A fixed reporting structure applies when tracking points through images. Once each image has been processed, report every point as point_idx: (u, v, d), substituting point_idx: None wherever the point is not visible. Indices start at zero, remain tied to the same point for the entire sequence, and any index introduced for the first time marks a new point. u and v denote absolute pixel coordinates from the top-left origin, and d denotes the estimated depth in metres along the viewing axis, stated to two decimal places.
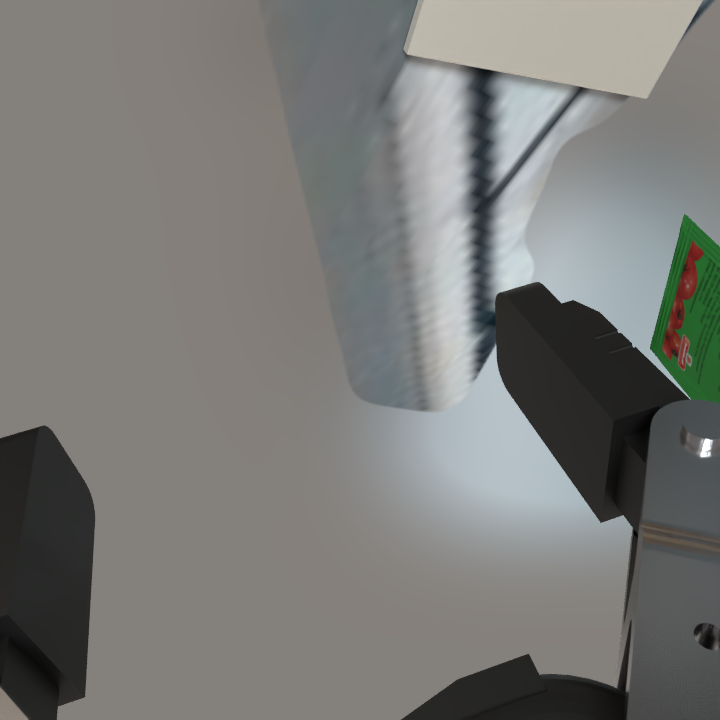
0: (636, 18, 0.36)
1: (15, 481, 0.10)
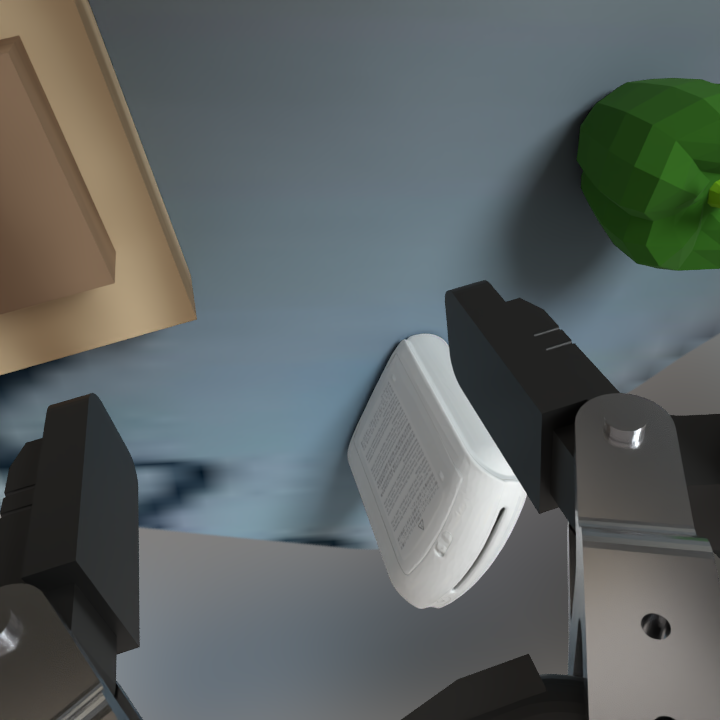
0: None
1: (71, 442, 0.10)
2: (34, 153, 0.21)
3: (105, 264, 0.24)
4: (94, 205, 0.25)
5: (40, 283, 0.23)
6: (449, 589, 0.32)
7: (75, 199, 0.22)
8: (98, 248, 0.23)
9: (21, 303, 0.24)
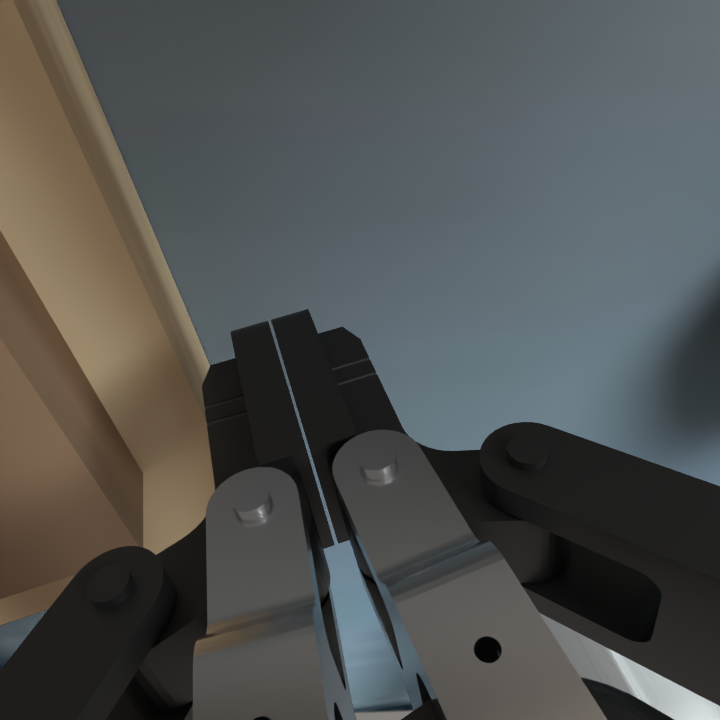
0: None
1: (265, 359, 0.11)
2: (3, 398, 0.12)
3: (128, 531, 0.15)
4: (109, 419, 0.16)
5: (23, 567, 0.14)
6: None
7: (77, 454, 0.13)
8: (117, 512, 0.14)
9: None
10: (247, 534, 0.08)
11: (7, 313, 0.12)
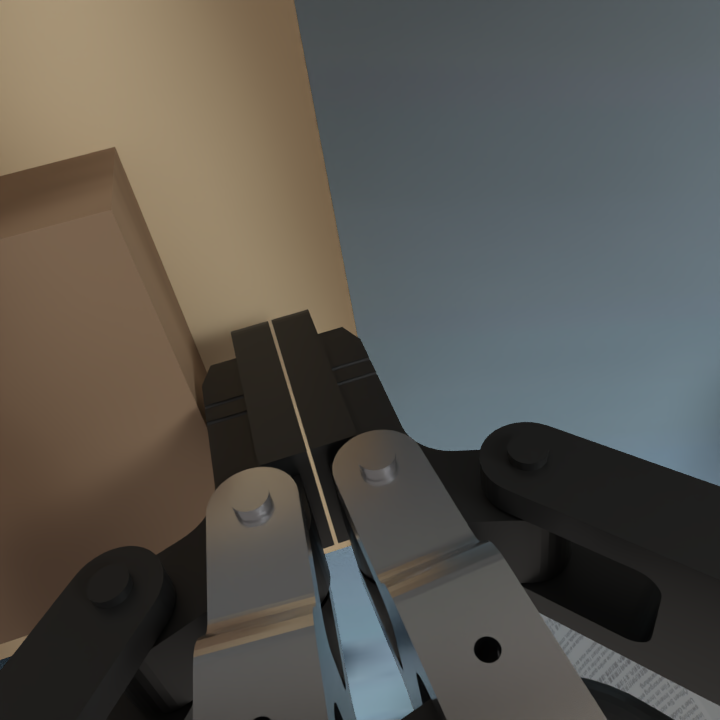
0: None
1: (265, 359, 0.11)
2: (148, 383, 0.11)
3: None
4: None
5: None
6: None
7: None
8: None
9: None
10: (247, 534, 0.08)
11: (155, 288, 0.10)
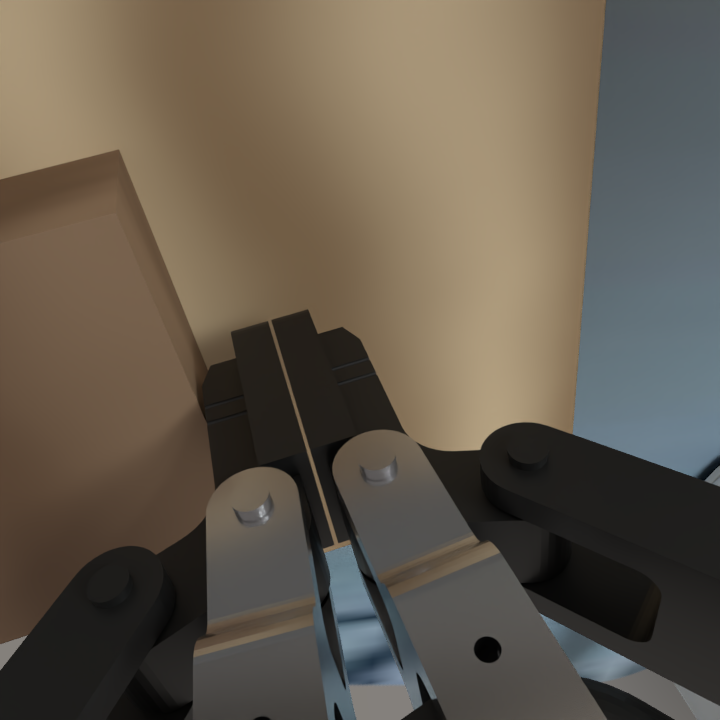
0: None
1: (265, 359, 0.11)
2: (151, 385, 0.11)
3: None
4: None
5: None
6: None
7: None
8: None
9: None
10: (247, 534, 0.08)
11: (158, 290, 0.10)
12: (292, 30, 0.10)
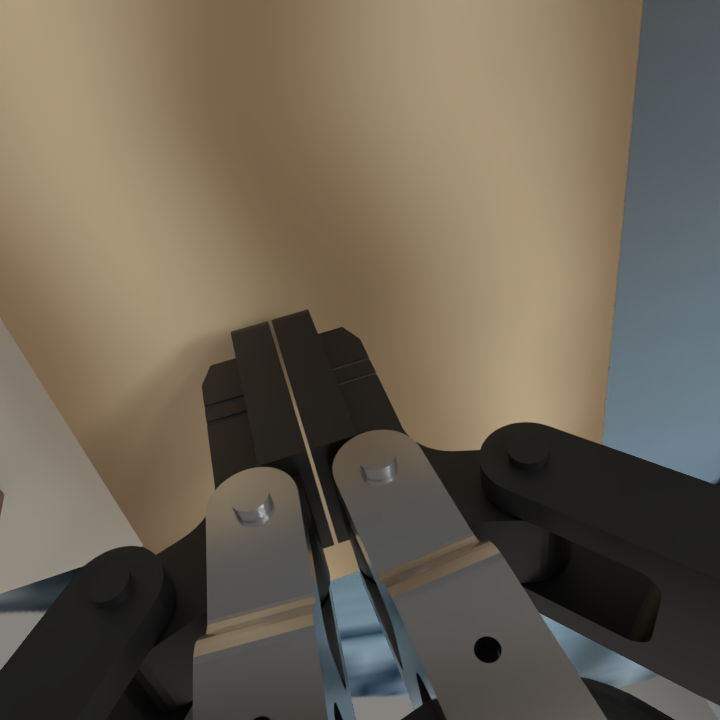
0: None
1: (265, 359, 0.11)
2: None
3: None
4: None
5: None
6: None
7: None
8: None
9: None
10: (247, 534, 0.08)
11: None
12: (334, 66, 0.10)
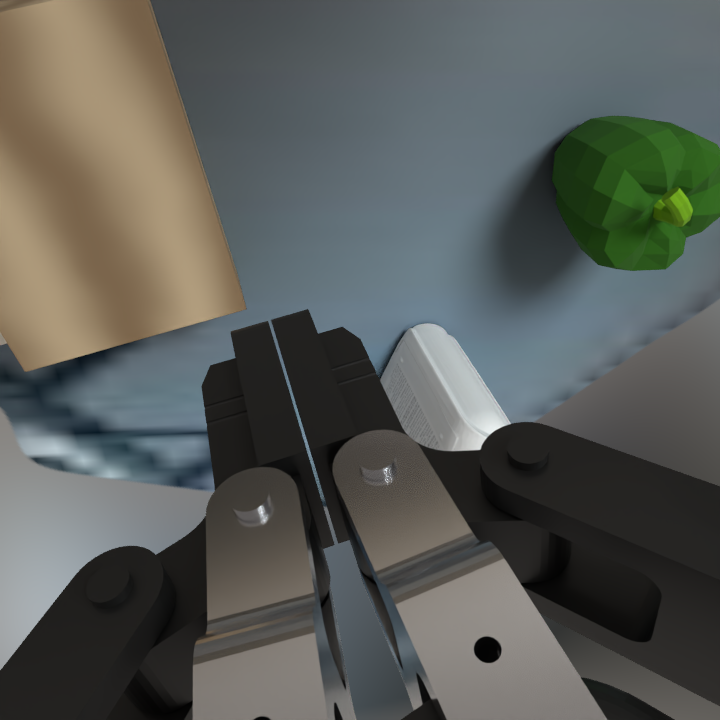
0: None
1: (265, 360, 0.11)
2: None
3: None
4: None
5: None
6: None
7: None
8: None
9: None
10: (247, 534, 0.08)
11: None
12: (35, 89, 0.27)
